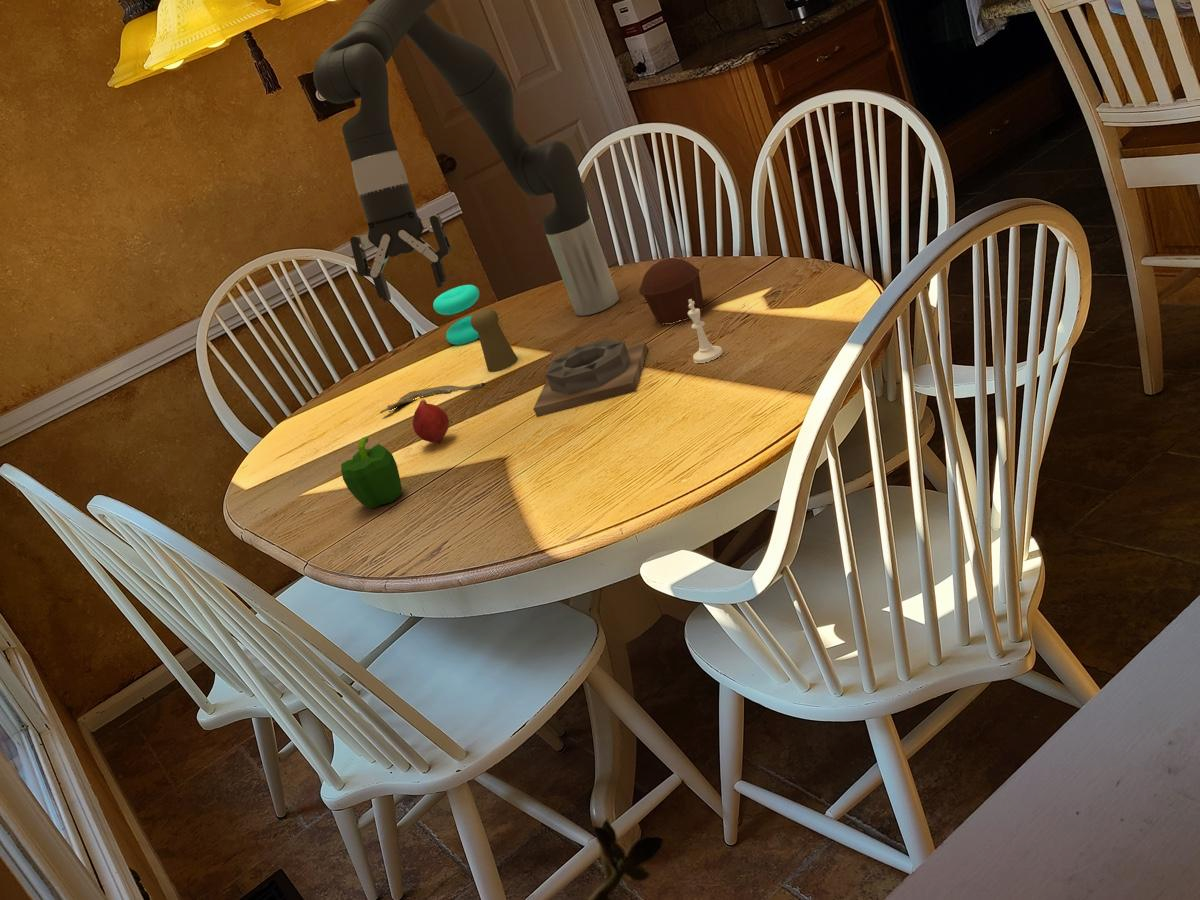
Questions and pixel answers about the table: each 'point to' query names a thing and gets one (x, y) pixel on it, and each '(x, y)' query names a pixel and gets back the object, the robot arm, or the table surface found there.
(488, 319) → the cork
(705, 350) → the chess piece
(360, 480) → the bell pepper
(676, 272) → the muffin
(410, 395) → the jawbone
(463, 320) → the donuts
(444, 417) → the onion
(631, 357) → the collar socket
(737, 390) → the table surface
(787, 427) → the table surface
